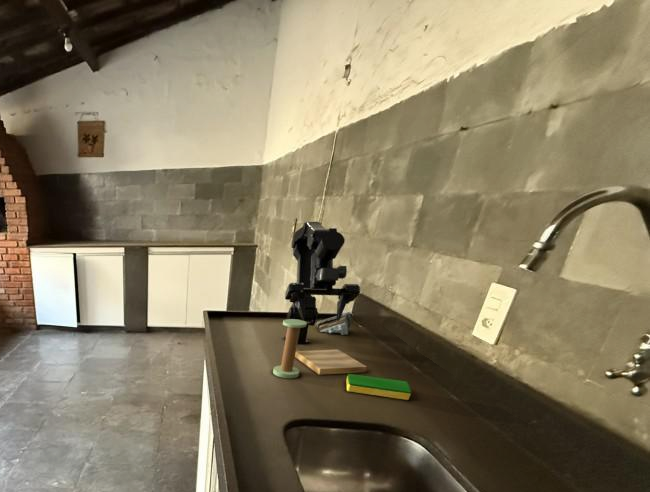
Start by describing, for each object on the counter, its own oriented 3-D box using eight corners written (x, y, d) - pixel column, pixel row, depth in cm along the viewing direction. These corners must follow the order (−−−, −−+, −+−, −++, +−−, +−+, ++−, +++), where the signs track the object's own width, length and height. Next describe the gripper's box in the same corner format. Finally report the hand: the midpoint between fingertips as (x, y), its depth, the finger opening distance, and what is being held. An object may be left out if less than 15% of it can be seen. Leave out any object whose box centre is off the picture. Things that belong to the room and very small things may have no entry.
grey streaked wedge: (313, 333, 155) (343, 315, 147) (313, 323, 160) (343, 305, 151) (329, 350, 157) (360, 333, 149) (329, 339, 162) (359, 322, 153)
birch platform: (294, 356, 133) (295, 351, 132) (336, 354, 134) (337, 349, 133) (319, 374, 120) (320, 368, 119) (365, 372, 121) (367, 366, 120)
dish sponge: (346, 381, 115) (348, 373, 114) (404, 389, 110) (407, 381, 109) (346, 391, 109) (348, 383, 108) (408, 400, 104) (411, 391, 103)
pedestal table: (269, 369, 124) (277, 319, 117) (291, 368, 124) (301, 318, 117) (279, 378, 117) (288, 326, 111) (303, 377, 118) (313, 324, 111)
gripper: (294, 253, 115) (292, 306, 112) (368, 254, 111) (368, 308, 108) (285, 274, 126) (283, 322, 122) (352, 275, 122) (352, 325, 119)
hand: (320, 319), depth 118 cm, fingers open, 9 cm apart
